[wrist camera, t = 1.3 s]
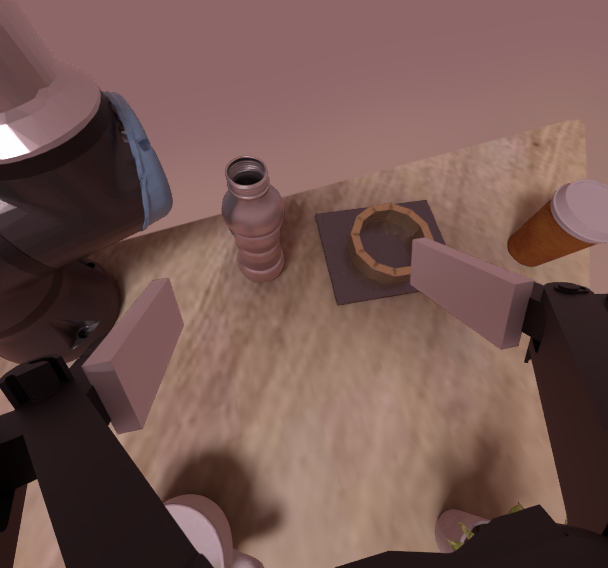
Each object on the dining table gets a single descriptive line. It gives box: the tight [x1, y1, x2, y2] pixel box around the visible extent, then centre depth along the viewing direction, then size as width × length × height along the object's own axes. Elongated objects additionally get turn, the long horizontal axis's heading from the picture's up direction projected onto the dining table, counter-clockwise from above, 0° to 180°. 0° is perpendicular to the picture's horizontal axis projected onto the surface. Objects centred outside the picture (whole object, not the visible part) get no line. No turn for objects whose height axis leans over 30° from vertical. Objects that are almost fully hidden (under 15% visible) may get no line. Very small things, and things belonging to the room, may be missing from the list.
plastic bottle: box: [222, 156, 284, 282], centre depth 34 cm, size 6×7×20 cm
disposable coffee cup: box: [508, 179, 608, 267], centre depth 42 cm, size 10×10×12 cm
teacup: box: [163, 494, 264, 568], centre depth 27 cm, size 14×11×8 cm
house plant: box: [435, 502, 567, 553], centre depth 25 cm, size 14×14×16 cm
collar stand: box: [315, 200, 446, 306], centre depth 44 cm, size 20×16×4 cm
